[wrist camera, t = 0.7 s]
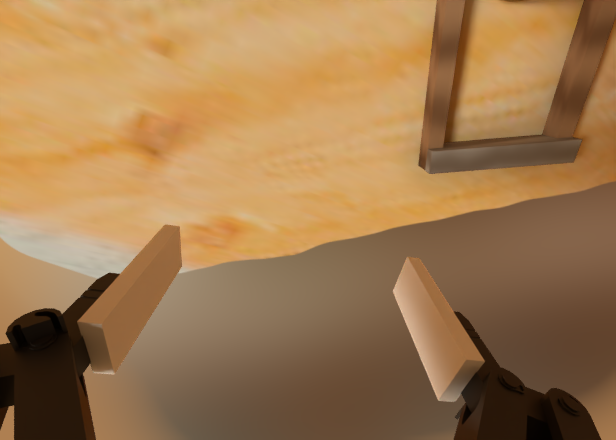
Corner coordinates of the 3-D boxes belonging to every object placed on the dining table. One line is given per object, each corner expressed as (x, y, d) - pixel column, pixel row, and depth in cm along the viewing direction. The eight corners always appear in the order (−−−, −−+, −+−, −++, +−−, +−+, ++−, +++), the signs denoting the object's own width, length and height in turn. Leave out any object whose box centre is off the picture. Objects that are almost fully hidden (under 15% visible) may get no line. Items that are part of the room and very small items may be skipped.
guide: (452, -140, 26) (476, -173, 23) (655, -161, 26) (711, -198, 22) (418, 165, 40) (429, 174, 37) (549, 154, 40) (573, 162, 36)
